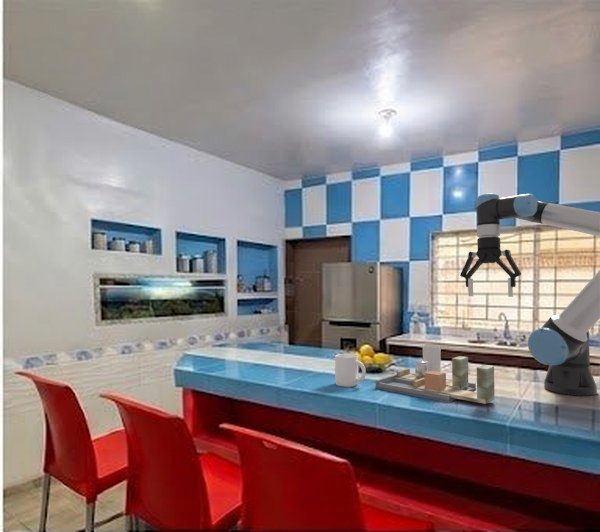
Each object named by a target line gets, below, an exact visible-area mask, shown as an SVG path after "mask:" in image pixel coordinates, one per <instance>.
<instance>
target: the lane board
mask: <svg viewBox="0 0 600 532" xmlns="http://www.w3.org/2000/svg"><path fill="white" fill-rule="evenodd" d="M410 374H412V375H416V374H415V373H411V372H410ZM446 380H451V381H452V378H451V379H450V378H446ZM446 387H448V388H454V389H459V390H465V391H471V392H474V391H476V390H477V382H475V383H474V382H469V381H468V387H467V388H465V389H461V388H455V387H449V386H446ZM375 389H378V390H383V391H388V392H392V393H397V394H403V395H408V396H414V397H418V398H425V399H428V400H434V401H440V402H444V403H451V402H453V401H454V400H457V398H451V397H450V395H446V394H441V393H435V392H430V391H424V390H419V389H413V380H407V379H401V378H397V373H395V374H391V375H388V376H385V377H382V378H379V379H376V380H375ZM475 389H476V390H475ZM473 390H474V391H473Z"/></svg>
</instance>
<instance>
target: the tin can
mask: <svg viewBox="0 0 600 532" xmlns="http://www.w3.org/2000/svg"><path fill="white" fill-rule="evenodd" d="M414 362H415V363H414V366H415V372H414V374H416V379H421V378H424V373H426V372H428V361H423V360H415V361H414Z"/></svg>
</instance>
